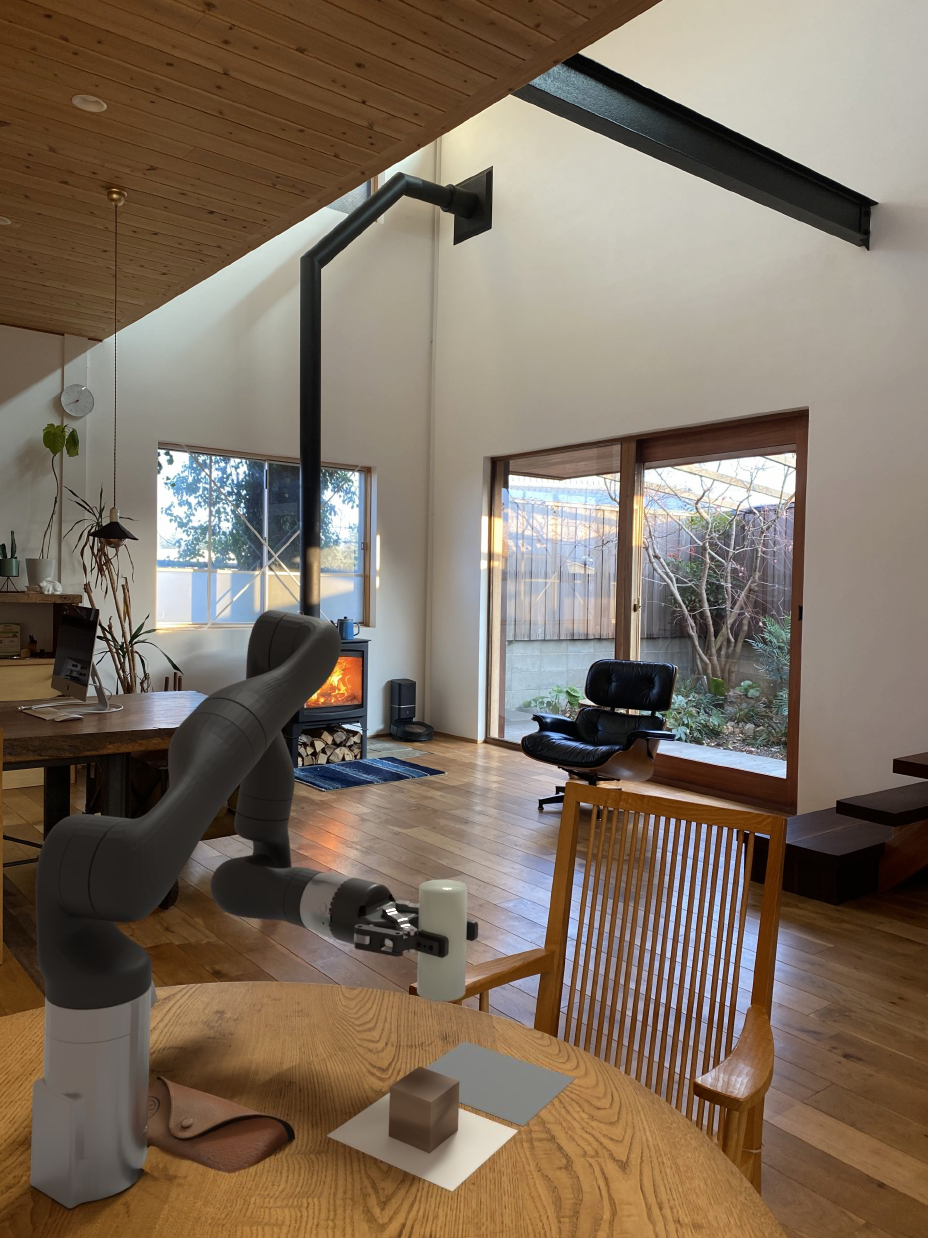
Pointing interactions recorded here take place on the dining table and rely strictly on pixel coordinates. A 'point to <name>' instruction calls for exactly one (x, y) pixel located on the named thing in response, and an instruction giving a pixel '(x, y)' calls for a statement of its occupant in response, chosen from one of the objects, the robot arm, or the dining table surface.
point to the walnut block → (424, 1109)
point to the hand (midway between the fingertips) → (461, 939)
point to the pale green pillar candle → (448, 918)
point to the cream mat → (438, 1167)
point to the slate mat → (500, 1082)
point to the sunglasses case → (211, 1128)
